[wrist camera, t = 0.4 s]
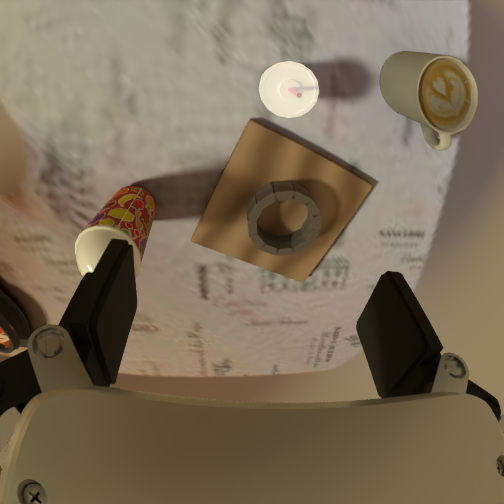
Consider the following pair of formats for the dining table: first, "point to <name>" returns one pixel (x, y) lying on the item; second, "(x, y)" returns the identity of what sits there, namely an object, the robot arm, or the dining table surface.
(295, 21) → the dining table surface
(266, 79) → the beverage cup
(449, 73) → the coffee mug
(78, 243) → the smoothie
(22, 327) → the casserole
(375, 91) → the dining table surface
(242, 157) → the socket board
